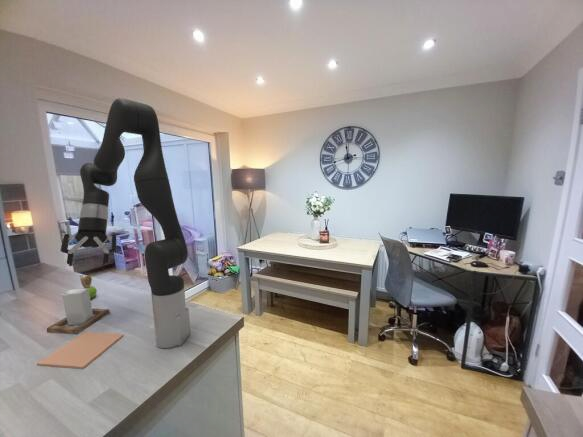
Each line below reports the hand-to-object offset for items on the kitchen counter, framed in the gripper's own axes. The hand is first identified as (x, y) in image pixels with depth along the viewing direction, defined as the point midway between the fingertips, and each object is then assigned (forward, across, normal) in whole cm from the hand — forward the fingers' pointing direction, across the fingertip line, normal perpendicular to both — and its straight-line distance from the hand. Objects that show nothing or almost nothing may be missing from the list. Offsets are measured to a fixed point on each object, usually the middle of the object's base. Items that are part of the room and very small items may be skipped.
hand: (88, 265), depth 79 cm
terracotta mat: (+26, +2, -3) cm, 26 cm away
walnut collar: (+19, -2, +15) cm, 25 cm away
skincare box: (+20, -2, +15) cm, 25 cm away
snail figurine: (+13, -2, +35) cm, 37 cm away
